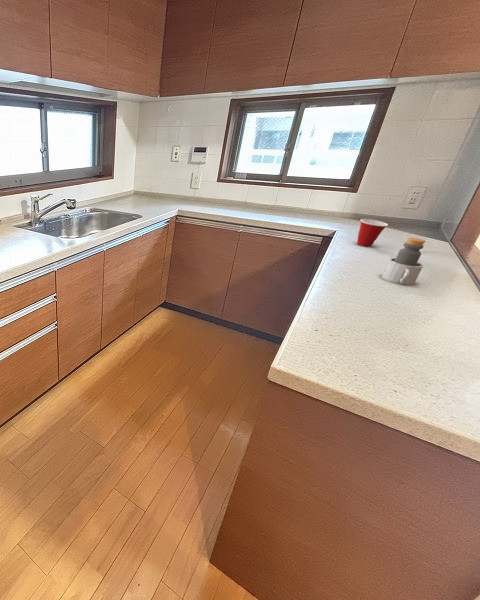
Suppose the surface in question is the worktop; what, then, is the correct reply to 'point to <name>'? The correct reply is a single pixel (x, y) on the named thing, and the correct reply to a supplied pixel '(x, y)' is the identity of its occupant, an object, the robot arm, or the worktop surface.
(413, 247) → the bottle
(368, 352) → the worktop surface
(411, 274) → the mug
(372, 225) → the plastic cup
